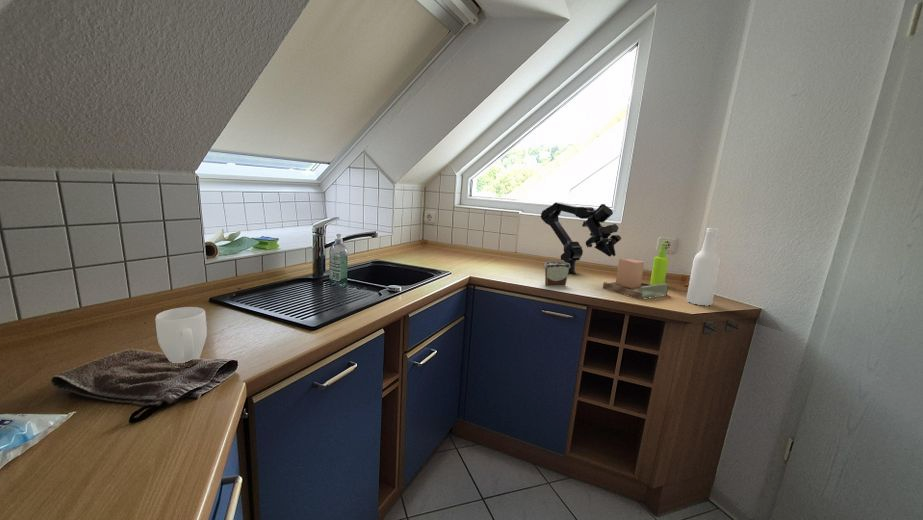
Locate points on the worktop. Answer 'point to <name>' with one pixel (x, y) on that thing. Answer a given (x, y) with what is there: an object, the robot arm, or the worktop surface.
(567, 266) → the food container
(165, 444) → the worktop surface
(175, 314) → the mug
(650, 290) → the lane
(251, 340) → the worktop surface
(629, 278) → the block
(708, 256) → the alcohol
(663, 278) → the soap dispenser
